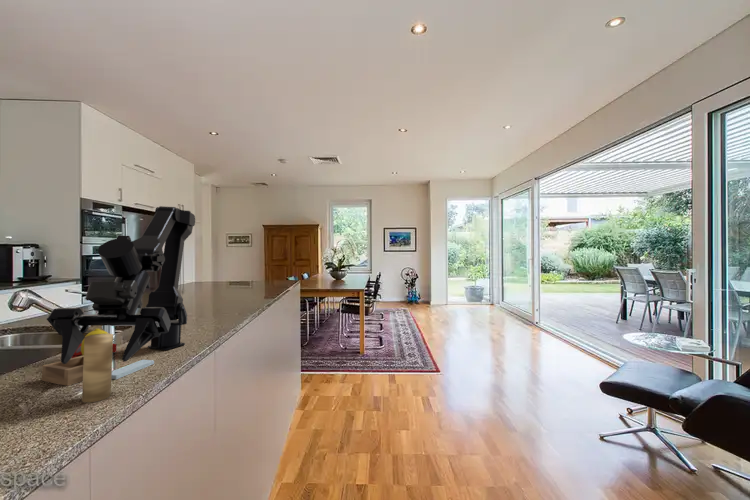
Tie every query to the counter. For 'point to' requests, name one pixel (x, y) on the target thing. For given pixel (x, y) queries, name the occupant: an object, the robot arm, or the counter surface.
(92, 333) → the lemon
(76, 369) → the square wooden tray
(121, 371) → the plate
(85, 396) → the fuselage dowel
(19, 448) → the counter surface
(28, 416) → the counter surface
